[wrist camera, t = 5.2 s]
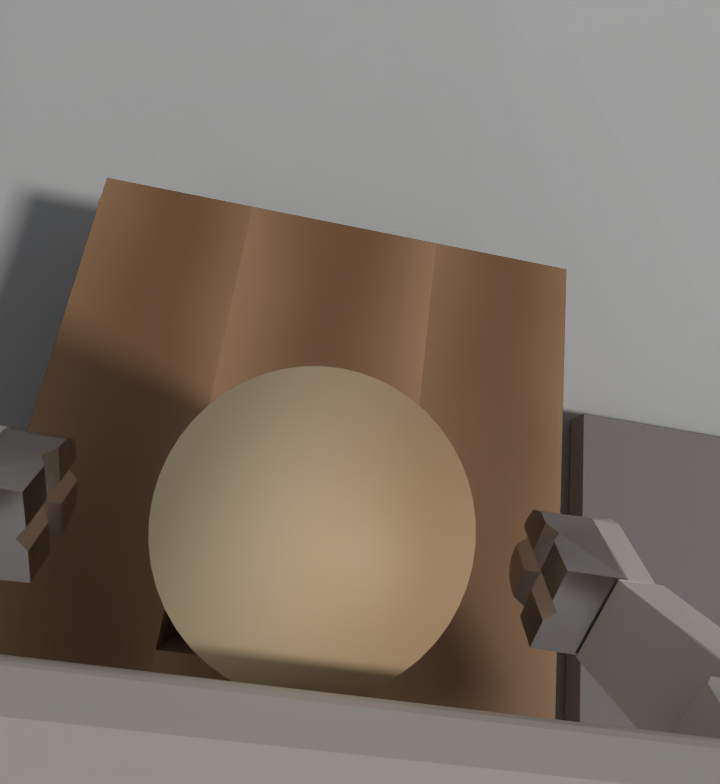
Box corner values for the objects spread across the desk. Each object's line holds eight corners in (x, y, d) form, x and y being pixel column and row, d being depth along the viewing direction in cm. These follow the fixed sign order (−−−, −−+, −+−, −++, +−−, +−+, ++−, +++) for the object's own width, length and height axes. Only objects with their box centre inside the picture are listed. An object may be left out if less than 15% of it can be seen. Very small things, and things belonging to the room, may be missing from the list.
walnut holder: (-41, 882, 13) (-150, 993, 10) (137, 250, 18) (106, 177, 14) (481, 923, 14) (547, 1034, 11) (514, 321, 19) (566, 269, 16)
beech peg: (209, 609, 15) (108, 679, 6) (236, 473, 16) (189, 341, 7) (345, 627, 16) (463, 719, 6) (363, 492, 17) (485, 393, 7)
